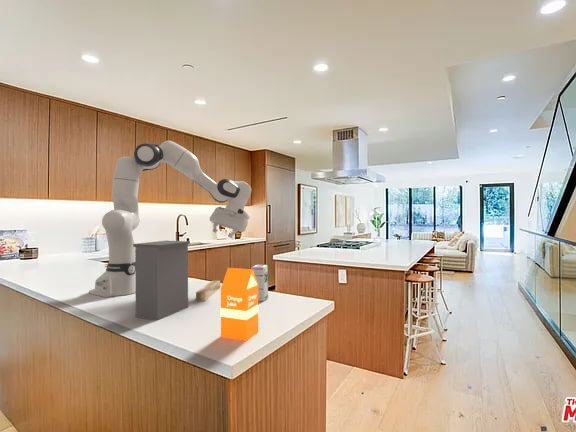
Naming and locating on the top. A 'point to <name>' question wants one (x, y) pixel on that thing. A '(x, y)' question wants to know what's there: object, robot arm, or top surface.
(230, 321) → the orange juice
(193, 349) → the top surface
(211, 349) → the top surface
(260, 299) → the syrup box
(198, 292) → the maple bar
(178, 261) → the pedestal
